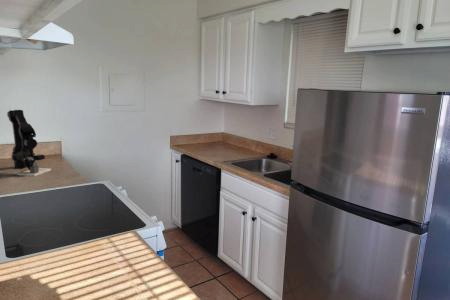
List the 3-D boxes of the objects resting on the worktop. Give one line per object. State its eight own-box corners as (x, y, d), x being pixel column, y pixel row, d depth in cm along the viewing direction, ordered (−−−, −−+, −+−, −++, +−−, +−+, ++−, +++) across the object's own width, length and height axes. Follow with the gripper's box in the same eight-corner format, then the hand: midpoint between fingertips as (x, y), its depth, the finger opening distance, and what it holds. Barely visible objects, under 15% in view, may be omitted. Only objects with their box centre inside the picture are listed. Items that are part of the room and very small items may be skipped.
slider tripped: (30, 172, 210) (29, 166, 209) (34, 171, 214) (34, 165, 213) (34, 173, 209) (34, 166, 209) (38, 171, 213) (38, 165, 213)
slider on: (29, 169, 219) (28, 163, 218) (33, 168, 222) (32, 162, 222) (33, 169, 218) (32, 163, 217) (37, 168, 222) (36, 162, 221)
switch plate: (17, 175, 209) (17, 173, 209) (34, 169, 225) (34, 167, 225) (34, 176, 208) (34, 174, 207) (51, 170, 223) (51, 168, 223)
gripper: (4, 147, 202) (6, 172, 205) (32, 148, 200) (34, 173, 203) (18, 144, 213) (20, 168, 216) (44, 145, 211) (46, 169, 213)
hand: (29, 170), depth 212 cm, fingers closed
